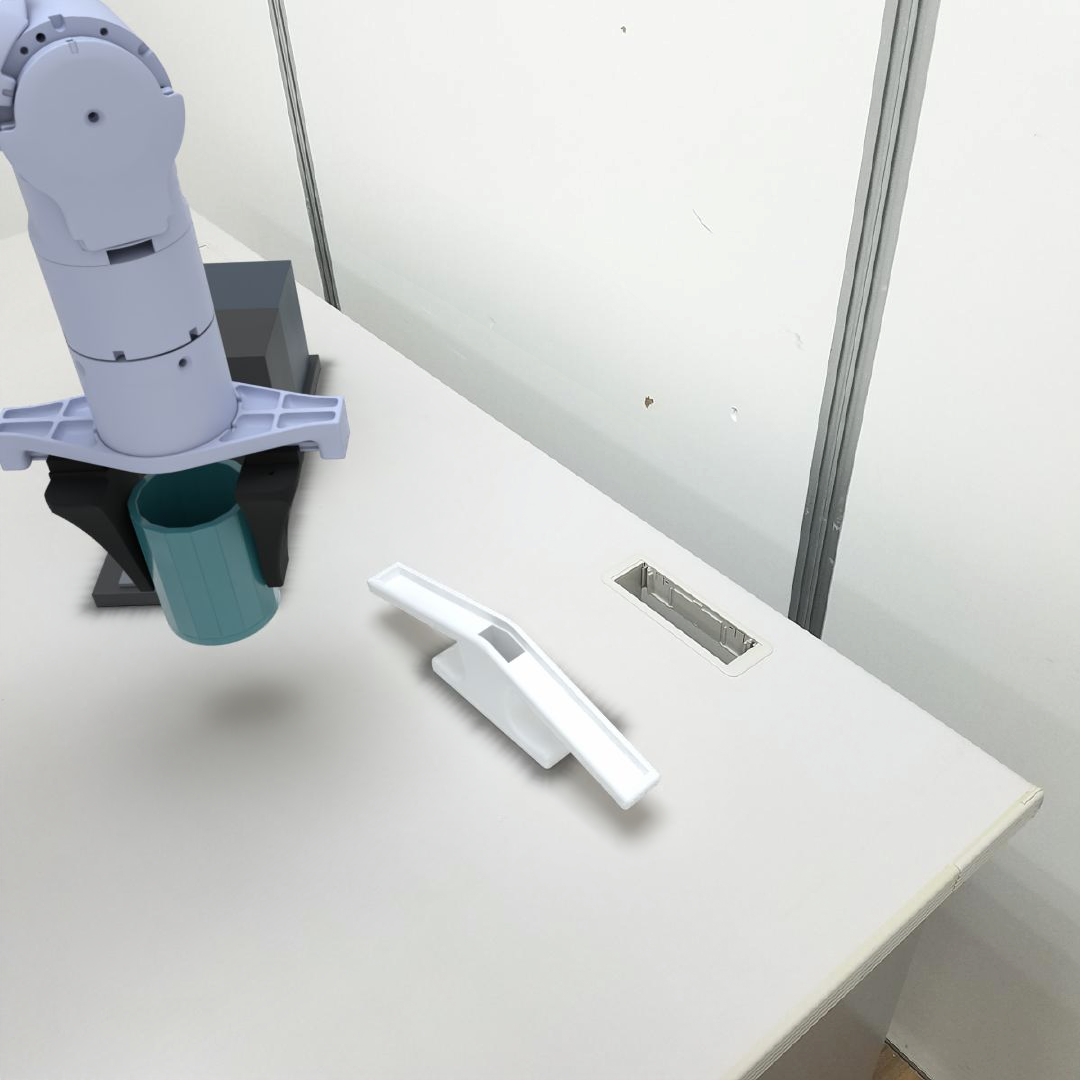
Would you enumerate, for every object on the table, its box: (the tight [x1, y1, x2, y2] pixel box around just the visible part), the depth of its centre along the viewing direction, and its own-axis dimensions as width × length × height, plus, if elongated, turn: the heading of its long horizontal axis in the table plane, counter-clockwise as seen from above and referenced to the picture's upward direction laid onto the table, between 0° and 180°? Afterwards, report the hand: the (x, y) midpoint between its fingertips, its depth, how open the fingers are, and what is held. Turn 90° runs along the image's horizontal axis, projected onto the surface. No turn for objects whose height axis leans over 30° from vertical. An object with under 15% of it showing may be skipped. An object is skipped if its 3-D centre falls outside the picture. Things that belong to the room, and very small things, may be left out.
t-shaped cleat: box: [366, 561, 662, 811], centre depth 57 cm, size 4×20×5 cm, turn 42°
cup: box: [127, 459, 282, 647], centre depth 53 cm, size 5×5×7 cm
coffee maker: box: [91, 259, 322, 607], centre depth 71 cm, size 24×10×10 cm, turn 2°
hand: (216, 575), depth 54 cm, fingers closed on cup, 5 cm apart
